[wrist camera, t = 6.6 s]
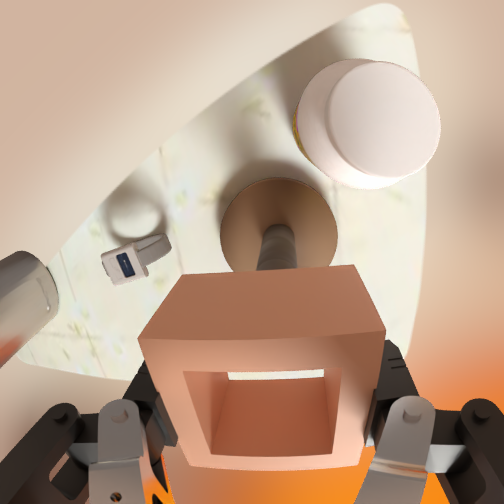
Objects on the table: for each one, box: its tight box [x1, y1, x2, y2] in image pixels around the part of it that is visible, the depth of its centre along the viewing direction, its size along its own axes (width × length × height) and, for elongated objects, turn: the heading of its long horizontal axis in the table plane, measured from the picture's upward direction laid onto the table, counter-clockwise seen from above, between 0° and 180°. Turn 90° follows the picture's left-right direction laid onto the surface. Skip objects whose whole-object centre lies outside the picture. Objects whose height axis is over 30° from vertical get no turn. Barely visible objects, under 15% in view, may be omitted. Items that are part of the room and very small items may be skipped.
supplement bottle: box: [293, 59, 441, 189], centre depth 16 cm, size 7×7×13 cm
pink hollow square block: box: [137, 265, 386, 471], centre depth 10 cm, size 6×6×4 cm
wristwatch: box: [101, 234, 172, 286], centre depth 24 cm, size 6×3×5 cm, turn 109°
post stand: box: [220, 178, 338, 272], centre depth 21 cm, size 9×9×10 cm
